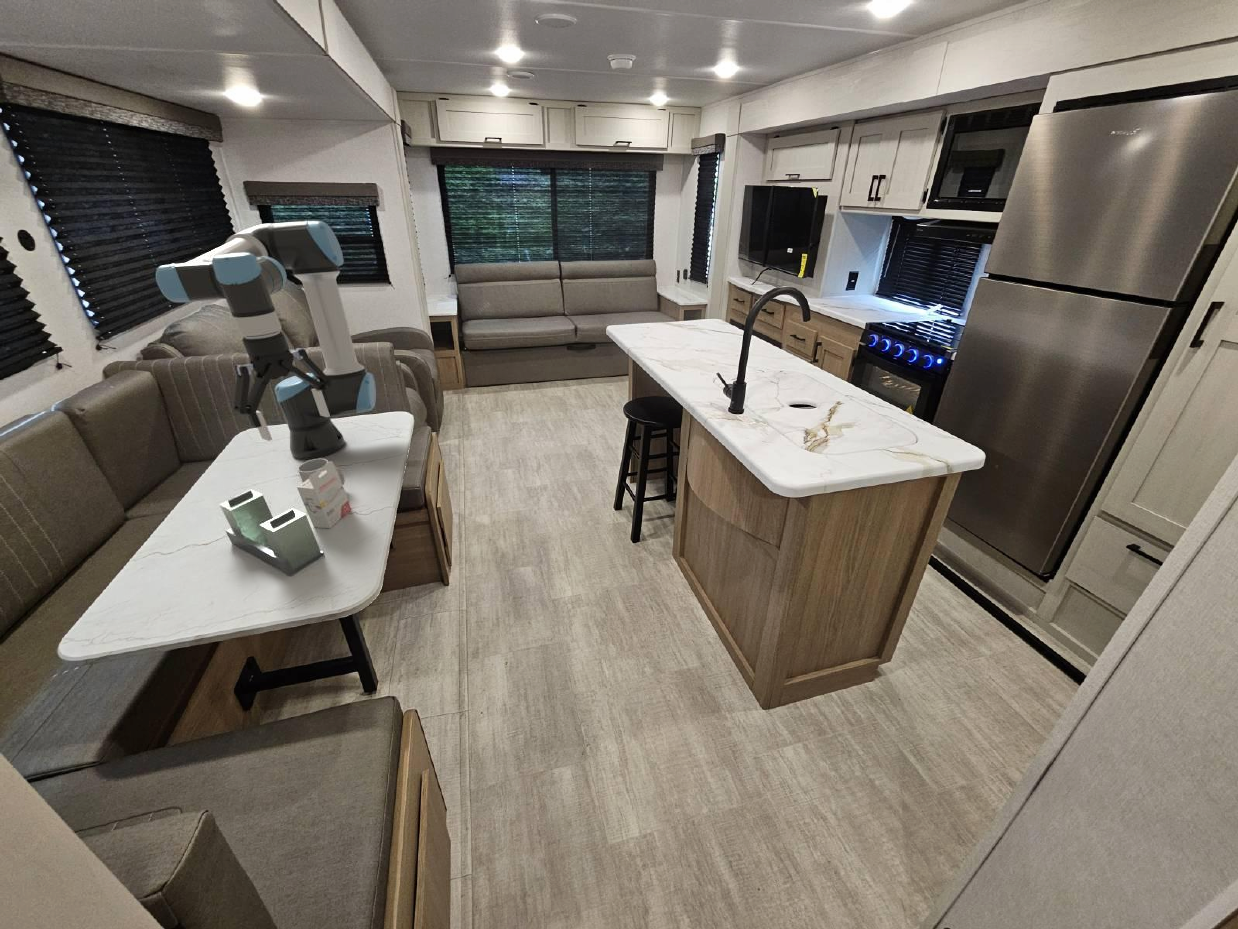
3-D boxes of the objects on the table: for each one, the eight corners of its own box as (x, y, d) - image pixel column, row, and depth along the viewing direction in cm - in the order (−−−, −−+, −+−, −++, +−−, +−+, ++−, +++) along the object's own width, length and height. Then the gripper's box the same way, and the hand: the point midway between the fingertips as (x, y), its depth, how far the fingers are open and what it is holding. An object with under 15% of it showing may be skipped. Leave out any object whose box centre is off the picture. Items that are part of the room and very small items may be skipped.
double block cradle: (266, 526, 129) (246, 484, 123) (324, 555, 118) (306, 510, 112) (232, 544, 123) (210, 501, 117) (290, 576, 112) (269, 530, 106)
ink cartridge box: (335, 507, 135) (316, 458, 128) (352, 509, 134) (334, 459, 127) (312, 527, 128) (291, 476, 121) (329, 529, 127) (309, 477, 120)
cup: (313, 488, 144) (302, 460, 140) (351, 483, 146) (342, 455, 141) (305, 502, 138) (293, 473, 134) (345, 497, 140) (335, 468, 135)
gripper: (308, 318, 119) (337, 404, 129) (185, 348, 101) (230, 446, 111) (328, 321, 116) (356, 409, 126) (205, 353, 97) (249, 453, 107)
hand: (297, 427), depth 118 cm, fingers open, 13 cm apart
